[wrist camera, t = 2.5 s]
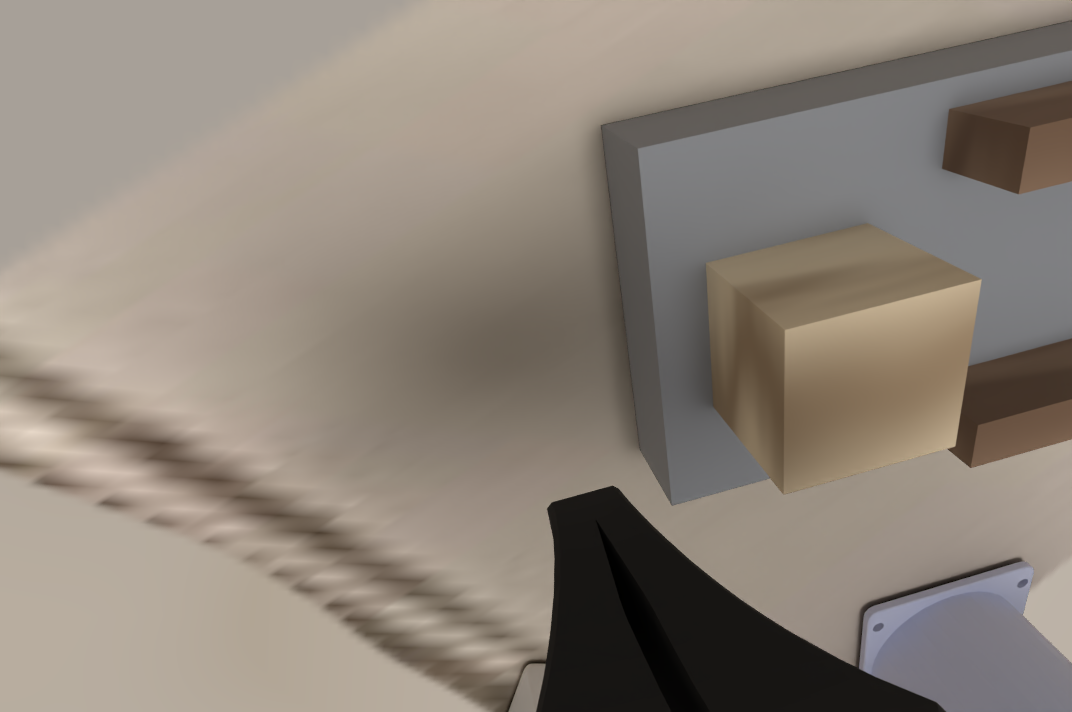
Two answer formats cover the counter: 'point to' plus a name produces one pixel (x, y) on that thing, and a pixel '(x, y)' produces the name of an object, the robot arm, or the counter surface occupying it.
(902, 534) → the counter surface
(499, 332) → the counter surface
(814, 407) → the maple block
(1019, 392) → the brown rectangular blocks
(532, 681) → the white stepped box
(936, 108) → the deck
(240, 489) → the counter surface
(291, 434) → the counter surface
